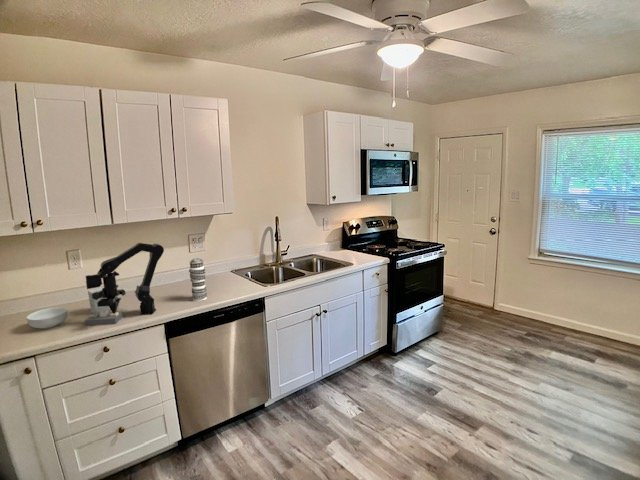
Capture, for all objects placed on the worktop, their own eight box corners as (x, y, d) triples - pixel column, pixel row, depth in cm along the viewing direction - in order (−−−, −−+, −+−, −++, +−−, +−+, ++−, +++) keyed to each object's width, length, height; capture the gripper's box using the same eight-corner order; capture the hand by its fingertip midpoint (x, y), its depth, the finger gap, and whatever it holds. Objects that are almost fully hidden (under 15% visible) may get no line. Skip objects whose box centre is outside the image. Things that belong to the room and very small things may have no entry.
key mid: (109, 315, 191) (108, 310, 190) (106, 317, 188) (105, 312, 188) (103, 315, 191) (102, 310, 190) (100, 317, 188) (99, 312, 187)
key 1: (99, 318, 191) (98, 313, 190) (96, 320, 188) (95, 315, 187) (93, 318, 190) (92, 313, 190) (90, 320, 188) (89, 315, 187)
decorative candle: (189, 301, 215) (185, 261, 210) (194, 296, 224) (190, 257, 219) (205, 301, 215) (201, 260, 211) (209, 295, 224) (205, 257, 220)
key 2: (119, 317, 192) (118, 312, 191) (116, 319, 189) (115, 314, 188) (113, 317, 191) (112, 312, 191) (110, 319, 188) (109, 314, 188)
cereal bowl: (27, 336, 174) (25, 322, 173) (29, 325, 188) (27, 312, 186) (69, 326, 184) (67, 313, 183) (68, 316, 197) (66, 304, 196)
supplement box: (104, 307, 209) (101, 287, 207) (110, 310, 205) (106, 289, 202) (90, 311, 204) (87, 290, 201) (95, 314, 199) (92, 293, 197)
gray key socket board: (124, 316, 195) (123, 311, 195) (115, 323, 186) (115, 318, 185) (95, 318, 194) (94, 312, 193) (85, 325, 184) (84, 320, 184)
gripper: (102, 280, 195) (106, 307, 198) (84, 291, 177) (88, 321, 180) (124, 279, 196) (127, 306, 199) (107, 290, 178) (112, 319, 181)
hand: (114, 313), depth 190 cm, fingers closed
